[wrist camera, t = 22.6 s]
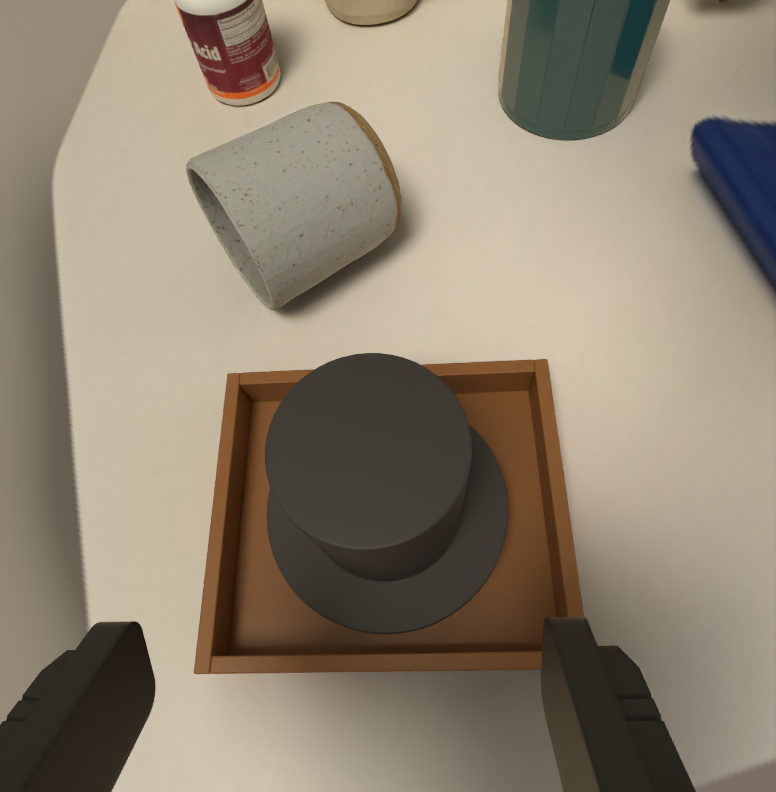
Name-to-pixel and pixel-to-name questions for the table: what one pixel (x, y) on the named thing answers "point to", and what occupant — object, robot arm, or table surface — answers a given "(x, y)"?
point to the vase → (369, 10)
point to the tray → (417, 650)
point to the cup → (575, 63)
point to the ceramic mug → (298, 198)
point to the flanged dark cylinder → (381, 495)
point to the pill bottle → (232, 48)
